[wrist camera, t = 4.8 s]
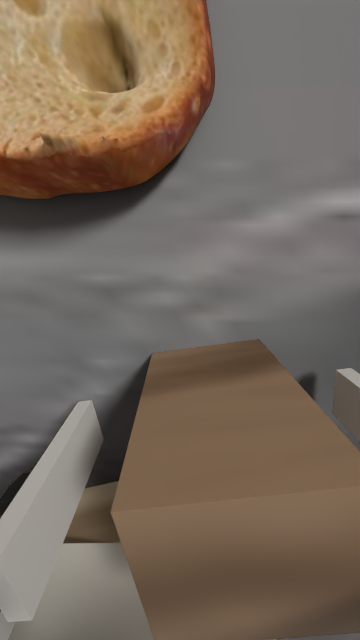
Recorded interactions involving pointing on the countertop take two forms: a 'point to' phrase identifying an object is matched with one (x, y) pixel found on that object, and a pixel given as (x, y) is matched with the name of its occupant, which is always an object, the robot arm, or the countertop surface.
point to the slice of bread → (98, 91)
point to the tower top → (88, 598)
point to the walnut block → (238, 501)
